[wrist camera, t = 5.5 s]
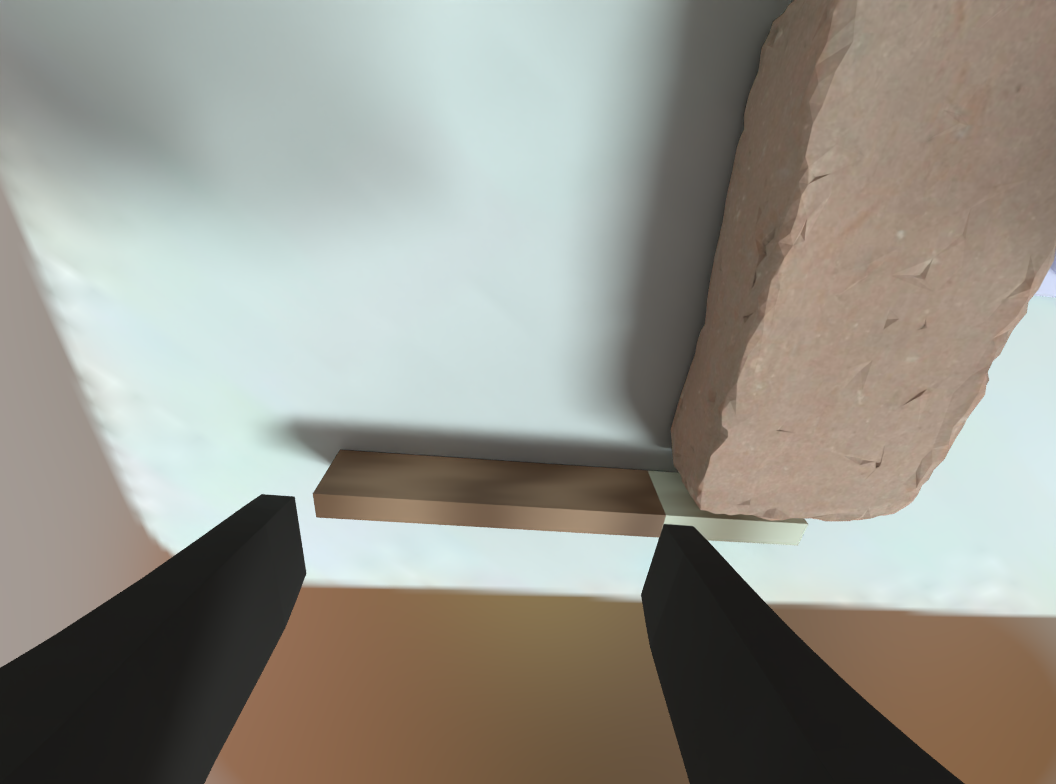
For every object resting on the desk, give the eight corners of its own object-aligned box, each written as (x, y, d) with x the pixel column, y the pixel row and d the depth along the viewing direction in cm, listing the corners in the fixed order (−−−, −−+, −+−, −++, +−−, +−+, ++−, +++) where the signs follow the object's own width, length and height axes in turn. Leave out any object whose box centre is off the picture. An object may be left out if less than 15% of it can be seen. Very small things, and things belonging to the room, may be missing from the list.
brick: (1254, -58, 10) (1032, 13, 14) (863, -85, 9) (758, -5, 14) (919, 540, 17) (841, 466, 21) (694, 530, 17) (660, 458, 21)
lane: (1024, -127, 12) (1163, -206, 10) (764, 498, 22) (797, 545, 19) (263, -243, 11) (183, -369, 9) (342, 471, 21) (316, 517, 18)
